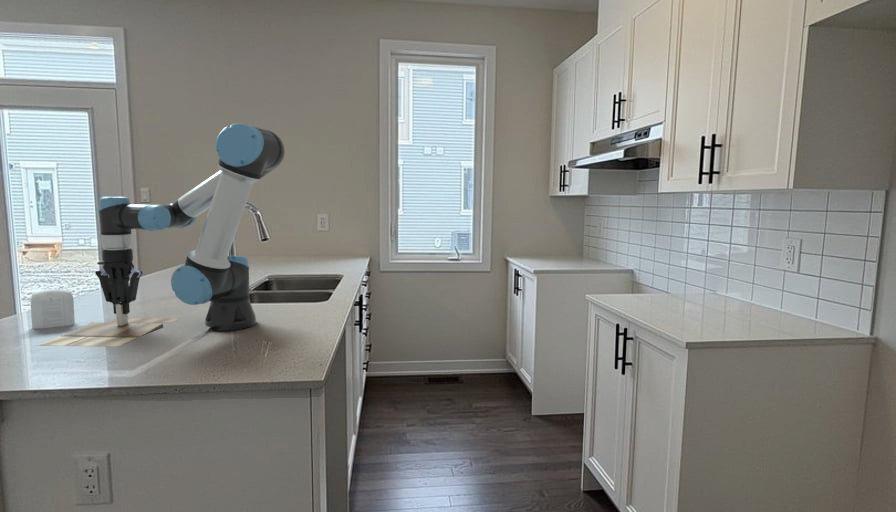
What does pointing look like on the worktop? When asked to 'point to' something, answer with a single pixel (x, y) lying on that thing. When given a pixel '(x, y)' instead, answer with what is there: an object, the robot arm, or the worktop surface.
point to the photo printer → (52, 309)
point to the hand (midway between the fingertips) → (122, 324)
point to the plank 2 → (148, 320)
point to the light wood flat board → (89, 341)
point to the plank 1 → (115, 329)
